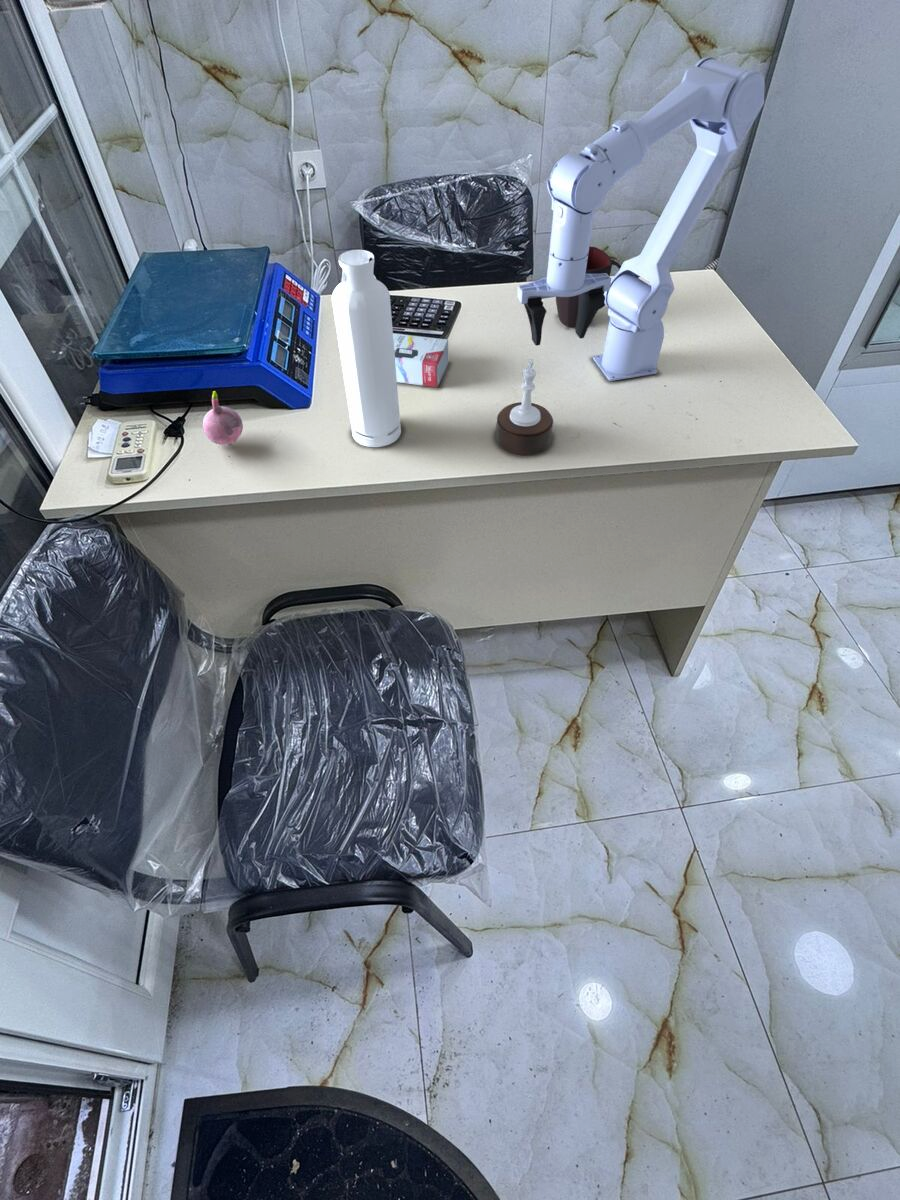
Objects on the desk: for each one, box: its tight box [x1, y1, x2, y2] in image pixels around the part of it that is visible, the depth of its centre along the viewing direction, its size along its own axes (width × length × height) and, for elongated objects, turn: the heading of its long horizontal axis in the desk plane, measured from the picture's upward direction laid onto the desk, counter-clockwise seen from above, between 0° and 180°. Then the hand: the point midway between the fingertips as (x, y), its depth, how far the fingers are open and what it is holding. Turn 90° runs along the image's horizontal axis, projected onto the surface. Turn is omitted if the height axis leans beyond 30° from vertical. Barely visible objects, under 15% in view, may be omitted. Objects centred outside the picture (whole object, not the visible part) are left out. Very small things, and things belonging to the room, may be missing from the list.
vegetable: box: [202, 390, 244, 446], centre depth 101 cm, size 6×6×10 cm
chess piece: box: [510, 358, 541, 427], centre depth 99 cm, size 5×5×10 cm
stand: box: [495, 401, 554, 456], centre depth 104 cm, size 9×9×4 cm
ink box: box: [393, 332, 449, 388], centre depth 116 cm, size 9×5×12 cm
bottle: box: [331, 249, 402, 448], centre depth 96 cm, size 8×8×28 cm
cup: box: [555, 246, 622, 329], centre depth 124 cm, size 10×14×12 cm
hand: (557, 338), depth 105 cm, fingers open, 7 cm apart
